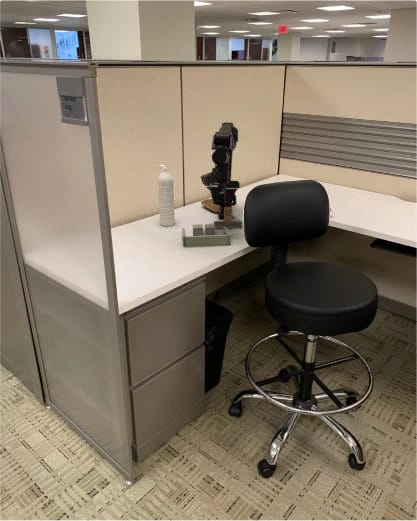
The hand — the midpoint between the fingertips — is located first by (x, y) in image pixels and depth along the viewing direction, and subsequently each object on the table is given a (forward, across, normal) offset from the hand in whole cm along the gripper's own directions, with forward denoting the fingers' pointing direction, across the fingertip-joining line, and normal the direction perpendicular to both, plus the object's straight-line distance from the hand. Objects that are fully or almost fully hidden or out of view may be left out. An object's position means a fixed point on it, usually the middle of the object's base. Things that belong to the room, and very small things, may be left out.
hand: (220, 205), depth 165 cm
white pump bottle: (+10, -24, -13) cm, 29 cm away
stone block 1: (+13, -5, -7) cm, 16 cm away
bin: (+14, +2, -8) cm, 16 cm away
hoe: (+10, -6, +8) cm, 14 cm away
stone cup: (+5, -31, +16) cm, 36 cm away
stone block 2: (+12, -3, -3) cm, 13 cm away
